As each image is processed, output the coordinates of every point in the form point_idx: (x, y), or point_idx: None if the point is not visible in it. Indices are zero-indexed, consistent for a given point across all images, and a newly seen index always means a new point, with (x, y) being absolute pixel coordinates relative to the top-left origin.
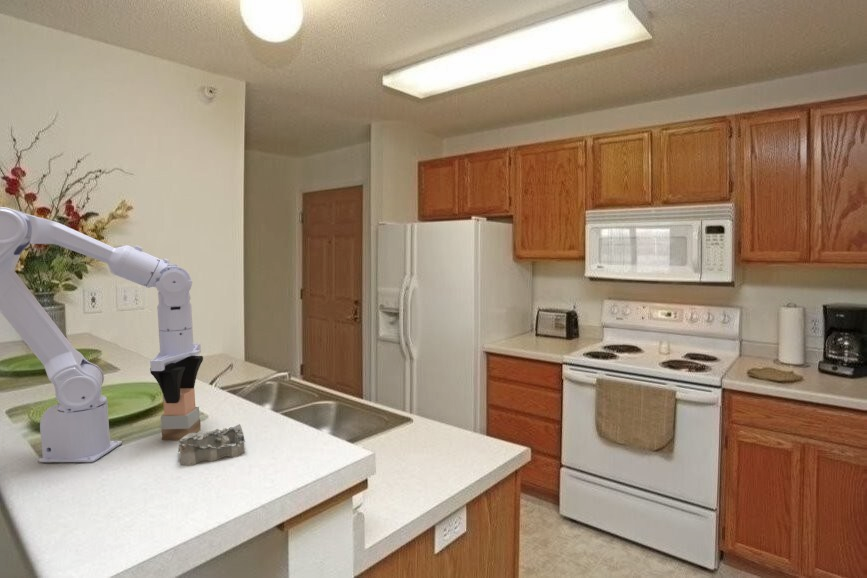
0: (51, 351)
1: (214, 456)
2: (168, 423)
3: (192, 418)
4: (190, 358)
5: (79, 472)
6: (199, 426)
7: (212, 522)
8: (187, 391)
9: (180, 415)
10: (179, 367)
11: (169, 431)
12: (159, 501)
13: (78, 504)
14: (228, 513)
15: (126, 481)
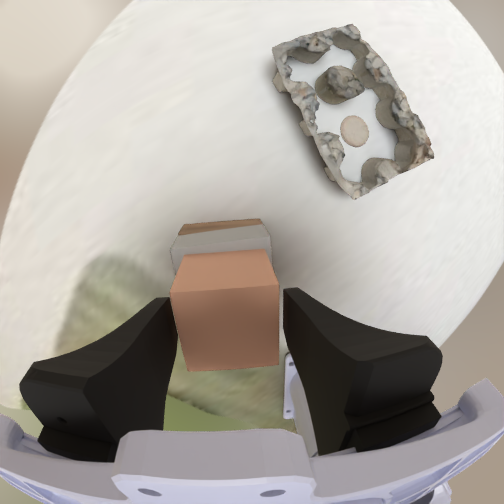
0: None
1: (382, 91)
2: None
3: (231, 234)
4: (111, 439)
5: (397, 330)
6: (189, 227)
7: (496, 67)
8: (224, 297)
9: None
10: (378, 388)
11: None
12: (482, 143)
13: (476, 254)
14: (484, 51)
15: (441, 231)
